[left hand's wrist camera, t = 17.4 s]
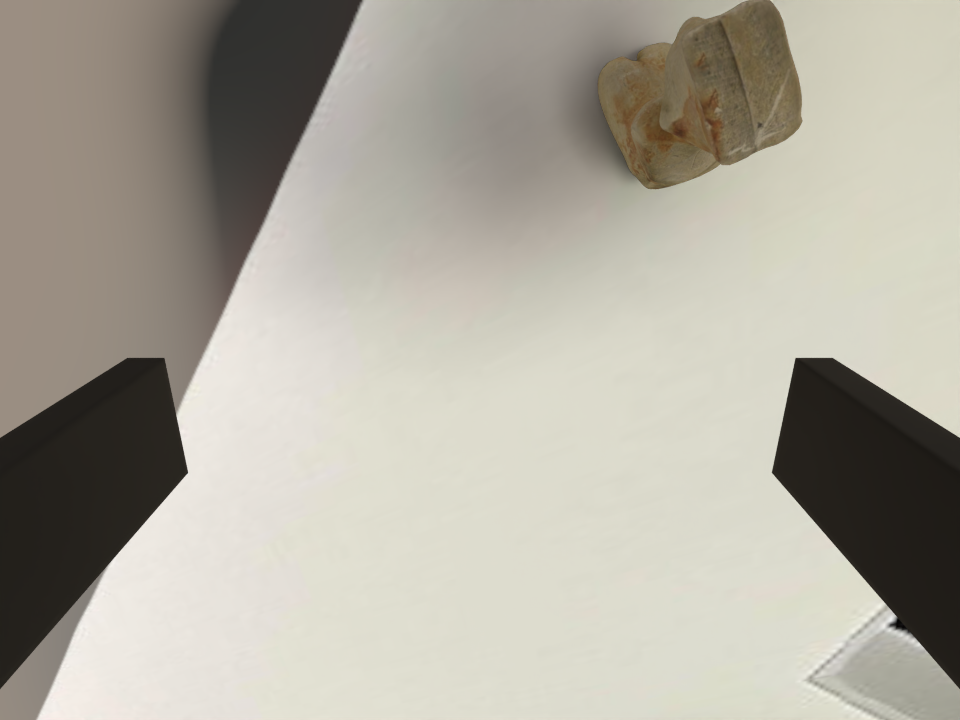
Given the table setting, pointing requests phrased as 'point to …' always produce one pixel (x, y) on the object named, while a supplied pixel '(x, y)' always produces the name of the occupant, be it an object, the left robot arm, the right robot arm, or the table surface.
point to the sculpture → (704, 96)
